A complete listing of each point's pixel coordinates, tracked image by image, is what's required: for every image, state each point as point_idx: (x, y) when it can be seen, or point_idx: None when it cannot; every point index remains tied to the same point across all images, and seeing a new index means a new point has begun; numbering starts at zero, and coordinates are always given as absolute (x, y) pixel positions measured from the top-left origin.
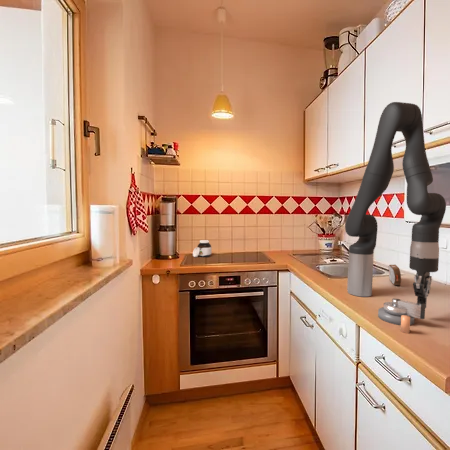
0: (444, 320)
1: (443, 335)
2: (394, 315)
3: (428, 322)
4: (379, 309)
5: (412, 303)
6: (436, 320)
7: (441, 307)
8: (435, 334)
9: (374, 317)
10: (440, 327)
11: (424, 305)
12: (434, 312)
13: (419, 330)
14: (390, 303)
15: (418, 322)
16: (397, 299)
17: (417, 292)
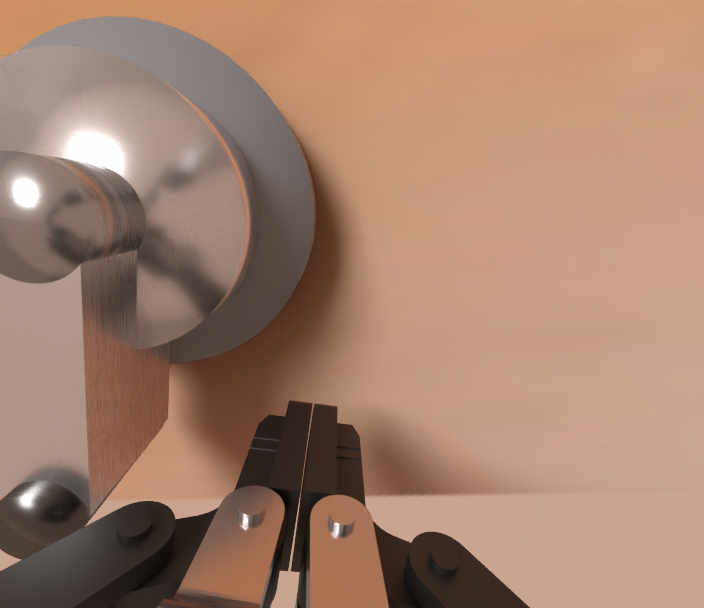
0: (398, 491)
1: None
2: None
3: None
4: (116, 29)
5: (23, 425)
6: (363, 454)
7: (698, 471)
8: None
9: (52, 23)
10: (235, 476)
11: (19, 545)
12: (544, 439)
13: None
14: (127, 135)
15: (228, 364)
16: (40, 233)
17: (104, 591)
